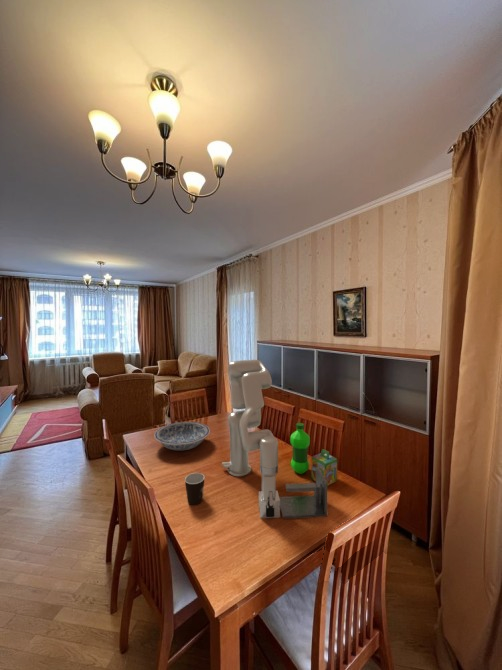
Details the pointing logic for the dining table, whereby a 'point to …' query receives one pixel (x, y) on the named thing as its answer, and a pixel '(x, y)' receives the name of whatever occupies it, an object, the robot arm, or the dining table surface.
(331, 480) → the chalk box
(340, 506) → the dining table surface
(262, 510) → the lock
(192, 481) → the dark grey cup
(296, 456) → the plastic bottle
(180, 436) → the ceramic bowl
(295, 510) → the bracket
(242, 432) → the robot arm
